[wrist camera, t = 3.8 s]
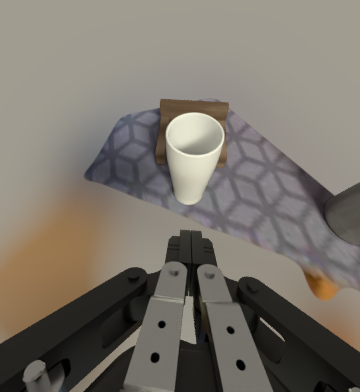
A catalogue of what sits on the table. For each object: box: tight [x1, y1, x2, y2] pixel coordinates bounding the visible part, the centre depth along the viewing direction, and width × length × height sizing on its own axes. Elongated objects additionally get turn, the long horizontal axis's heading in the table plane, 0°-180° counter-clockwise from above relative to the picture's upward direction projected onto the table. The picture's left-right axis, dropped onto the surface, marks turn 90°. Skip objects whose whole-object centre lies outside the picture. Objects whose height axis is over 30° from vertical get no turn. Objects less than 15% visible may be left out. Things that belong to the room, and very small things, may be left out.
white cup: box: [166, 113, 225, 205], centre depth 27 cm, size 7×7×15 cm
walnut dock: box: [155, 99, 229, 168], centre depth 36 cm, size 11×13×6 cm
